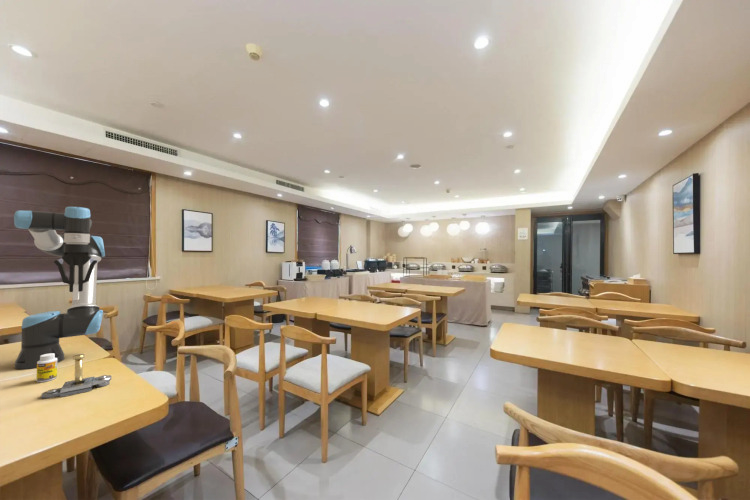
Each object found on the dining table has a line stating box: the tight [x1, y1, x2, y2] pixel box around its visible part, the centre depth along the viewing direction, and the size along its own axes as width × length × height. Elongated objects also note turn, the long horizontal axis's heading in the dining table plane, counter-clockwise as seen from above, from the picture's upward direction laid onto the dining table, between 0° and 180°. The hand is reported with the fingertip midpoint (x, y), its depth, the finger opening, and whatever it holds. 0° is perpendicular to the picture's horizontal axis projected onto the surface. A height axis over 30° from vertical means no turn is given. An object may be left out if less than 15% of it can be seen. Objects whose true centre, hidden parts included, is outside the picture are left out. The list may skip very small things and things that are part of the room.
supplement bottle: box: [36, 353, 58, 383], centre depth 117 cm, size 6×6×10 cm
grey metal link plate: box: [40, 374, 112, 400], centre depth 109 cm, size 8×18×3 cm, turn 129°
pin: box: [72, 353, 85, 385], centre depth 109 cm, size 3×3×13 cm
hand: (75, 299), depth 121 cm, fingers closed
